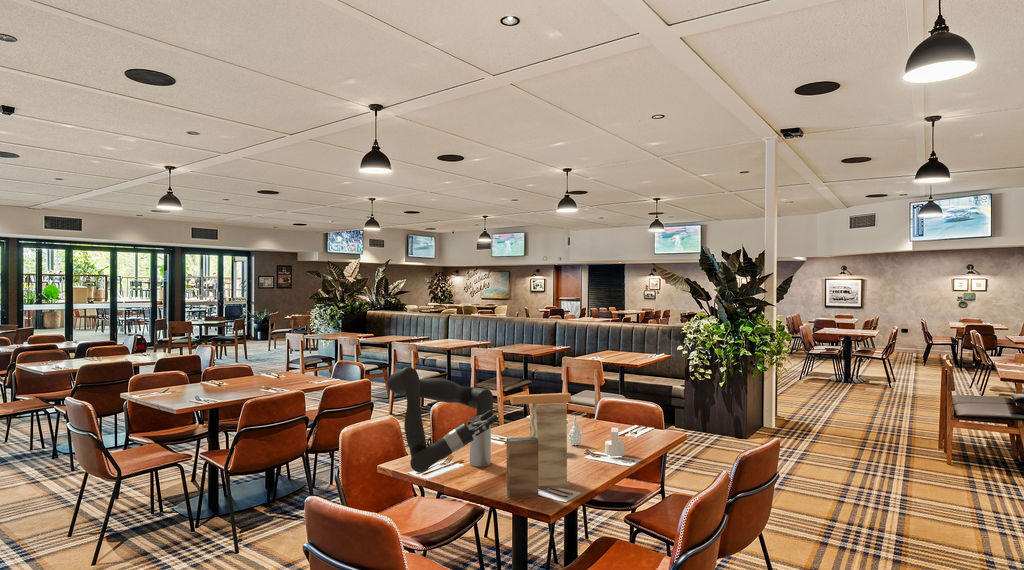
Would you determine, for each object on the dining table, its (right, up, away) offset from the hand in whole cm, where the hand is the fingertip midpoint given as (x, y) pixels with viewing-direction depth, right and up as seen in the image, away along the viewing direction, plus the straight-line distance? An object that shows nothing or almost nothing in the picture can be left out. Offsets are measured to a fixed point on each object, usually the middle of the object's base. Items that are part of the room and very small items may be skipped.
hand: (494, 414), depth 215 cm
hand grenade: (+39, -30, +61) cm, 78 cm away
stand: (+21, -28, +5) cm, 36 cm away
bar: (+18, +4, +5) cm, 19 cm away
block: (+11, -28, -9) cm, 31 cm away
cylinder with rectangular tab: (+55, -29, +43) cm, 76 cm away
